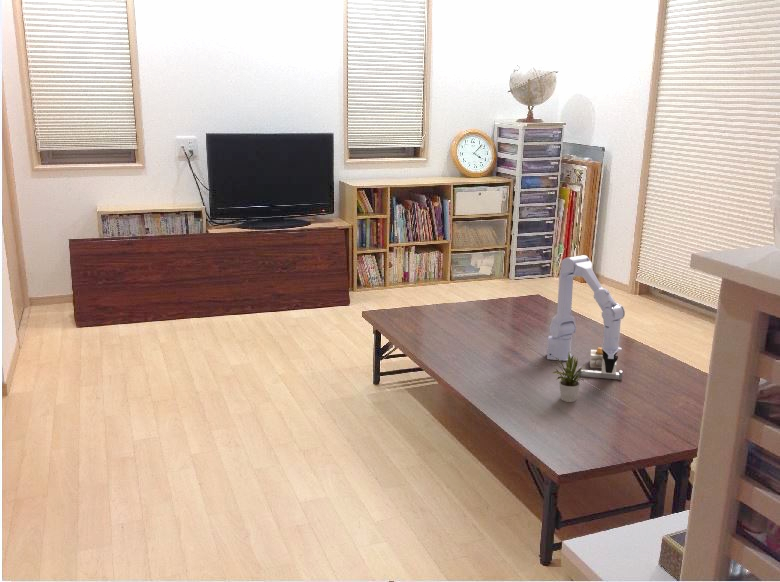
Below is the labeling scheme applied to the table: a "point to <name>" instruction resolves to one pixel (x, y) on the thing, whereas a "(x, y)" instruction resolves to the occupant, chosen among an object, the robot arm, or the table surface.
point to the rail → (598, 374)
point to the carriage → (608, 375)
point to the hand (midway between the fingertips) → (608, 370)
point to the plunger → (599, 350)
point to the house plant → (569, 380)
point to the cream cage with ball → (596, 359)
